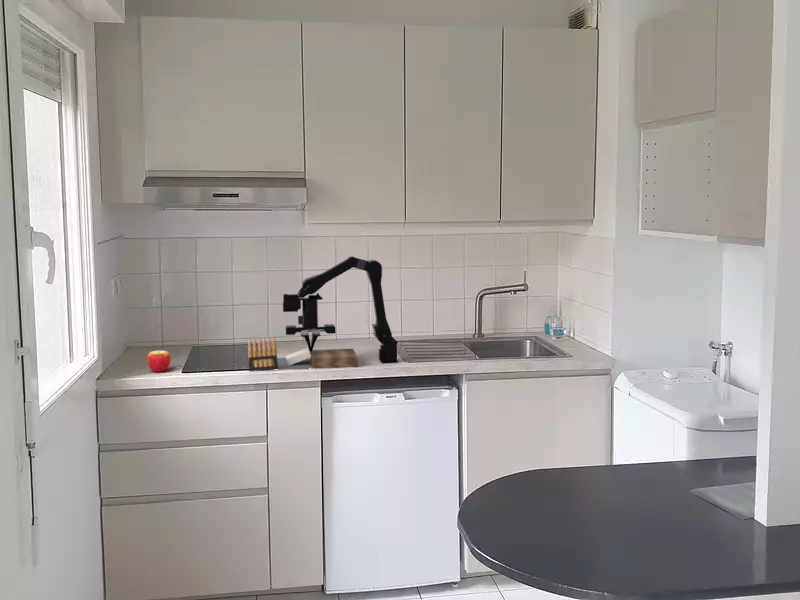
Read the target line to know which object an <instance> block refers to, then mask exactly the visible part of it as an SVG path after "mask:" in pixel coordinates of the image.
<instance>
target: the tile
mask: <svg viewBox="0 0 800 600" xmlns="http://www.w3.org/2000/svg"><path fill="white" fill-rule="evenodd" d="M310 357H311V354H310V351H309V348H308V346H307V347H305V348H302V349H300V350H298V351H295V352H293V353H291V354H287V355H286V356H285V358H286V359H287V362H288V364H289V366H290V365H292V364H295V363H297V362H300V361H302V360H305V359H307V358H309V359H310Z"/></svg>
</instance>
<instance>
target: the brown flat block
mask: <svg viewBox="0 0 800 600" xmlns="http://www.w3.org/2000/svg"><path fill="white" fill-rule="evenodd" d="M310 354H311V357H309V362H310V361H311V362H310V365H311V369H313V368H318V369H339V368H358V367H359V356H358V354H357V353H356V351H355V349H354V348H334V349H330V348H329V349H313V350H312V352H310Z"/></svg>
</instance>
